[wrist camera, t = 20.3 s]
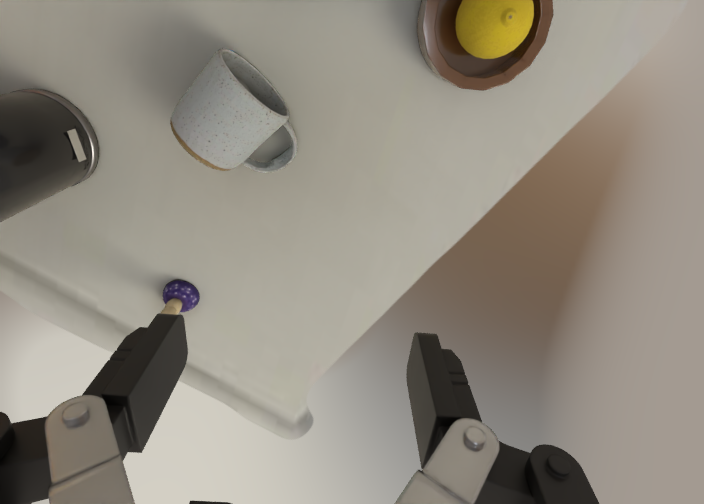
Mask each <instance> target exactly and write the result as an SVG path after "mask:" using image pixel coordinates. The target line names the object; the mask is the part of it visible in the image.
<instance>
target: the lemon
mask: <svg viewBox="0 0 704 504" xmlns="http://www.w3.org/2000/svg"><path fill="white" fill-rule="evenodd" d="M533 17H534V5H533V1H532V0H462V2H461V5H460V7H459V9H458V12H457V16H456V33H457V38H458V40H459V42H460V44H461V46H462V47H463V48H464V49H465V50H466V51H467V52H468V53H470V54H471V55H473V56H475V57H478V58H482V59H494V58H498V57H501V56H504V55H506V54H508V53H509V52H511V51H513V50H514V49H515V48H516V47H517V46H518V45H520V44H521V43H522V41H523V40H524V39H525V37H526V36H527V34H528V32H529V30H530V28H531V26H532V22H533Z"/></svg>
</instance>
